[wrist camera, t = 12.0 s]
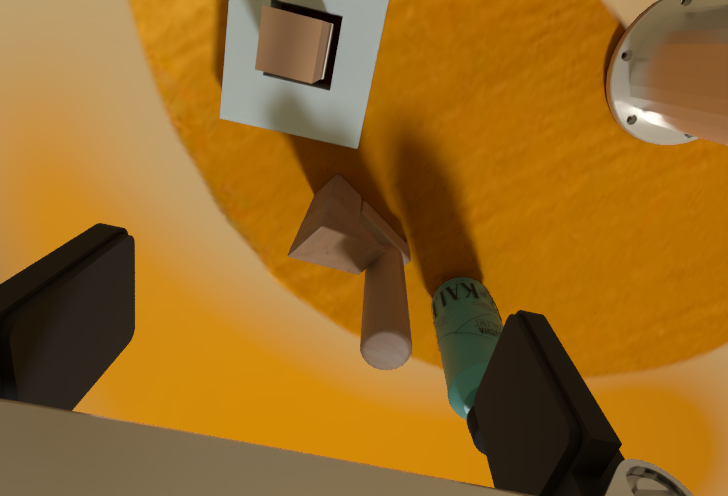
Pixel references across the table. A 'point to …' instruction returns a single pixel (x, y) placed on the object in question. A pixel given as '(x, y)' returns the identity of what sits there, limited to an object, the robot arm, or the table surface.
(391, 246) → the wooden block structure
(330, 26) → the peg
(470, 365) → the beverage bottle
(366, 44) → the grey square-hole block
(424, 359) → the table surface
